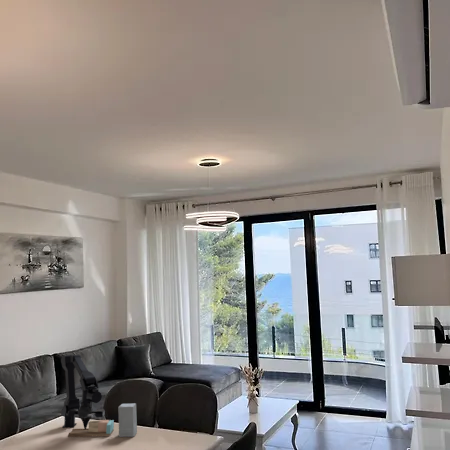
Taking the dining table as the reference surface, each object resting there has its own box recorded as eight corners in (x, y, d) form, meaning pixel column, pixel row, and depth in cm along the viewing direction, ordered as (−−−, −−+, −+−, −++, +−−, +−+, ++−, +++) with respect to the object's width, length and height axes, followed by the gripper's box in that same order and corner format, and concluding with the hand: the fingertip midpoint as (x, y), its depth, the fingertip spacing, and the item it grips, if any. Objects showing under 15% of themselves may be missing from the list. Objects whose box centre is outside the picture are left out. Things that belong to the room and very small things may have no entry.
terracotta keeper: (99, 429, 251) (100, 420, 251) (109, 429, 251) (109, 420, 252) (97, 432, 246) (98, 422, 247) (107, 432, 246) (107, 422, 247)
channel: (73, 431, 252) (73, 428, 252) (113, 430, 253) (113, 427, 253) (68, 437, 243) (68, 433, 244) (110, 436, 244) (110, 432, 244)
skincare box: (137, 433, 248) (137, 402, 250) (133, 437, 241) (133, 406, 243) (121, 433, 249) (122, 402, 251) (117, 437, 242) (118, 406, 244)
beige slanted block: (90, 430, 250) (90, 420, 251) (99, 429, 251) (100, 420, 251) (88, 432, 246) (88, 422, 247) (97, 432, 246) (98, 422, 247)
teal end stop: (109, 428, 253) (110, 420, 254) (113, 428, 253) (113, 420, 254) (106, 433, 244) (106, 425, 245) (110, 433, 244) (110, 425, 245)
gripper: (65, 402, 242) (63, 433, 240) (101, 403, 243) (99, 434, 241) (71, 397, 253) (69, 427, 251) (105, 398, 254) (104, 428, 252)
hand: (85, 429), depth 248 cm, fingers closed
